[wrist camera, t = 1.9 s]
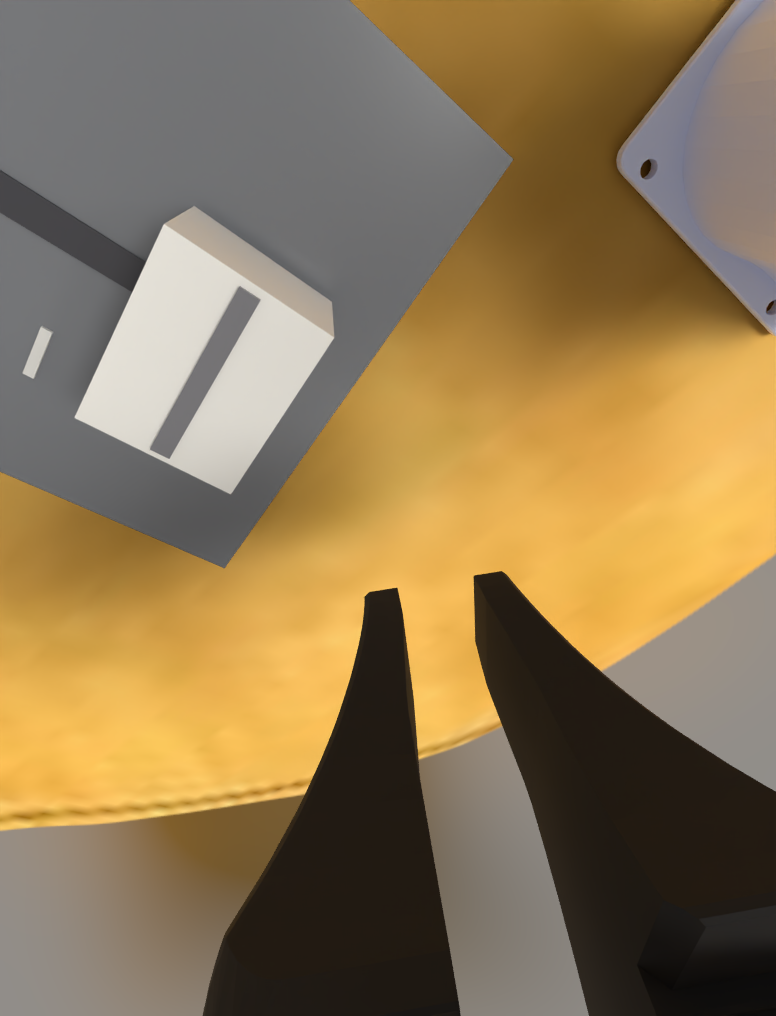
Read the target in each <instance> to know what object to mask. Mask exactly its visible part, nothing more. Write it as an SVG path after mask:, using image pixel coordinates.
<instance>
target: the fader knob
mask: <svg viewBox="0 0 776 1016" xmlns="http://www.w3.org/2000/svg"><path fill="white" fill-rule="evenodd" d="M333 339H334V325H333V310H332V302H331V301H330V300H329V299H327V298H326V297H324V296H323V295H321V294H320V293H319V292H317V291H316V290H314V289H313V288H311V287H310V286H308V285H307V284H306V283H304V282H303V281H301V280H300V279H298V278H297V277H296V276H294V275H293V274H291V273H290V272H288V271H287V270H286V269H284V268H283V267H281V266H280V265H278V264H277V263H275V262H274V261H273V260H271V259H270V258H268V257H267V256H265V255H264V254H263V253H261V252H260V251H258V250H257V249H255V248H254V247H253V246H251V245H250V244H248V243H247V242H245V241H244V240H242V239H241V238H240V237H238V236H237V235H235V234H234V233H232V232H231V231H230V230H228V229H227V228H225V227H224V226H222V225H221V224H219V223H218V222H217V221H215V220H214V219H212V218H211V217H209V216H208V215H207V214H205V213H204V212H202V211H201V210H199V209H198V208H197V207H195V206H193V207H192V208H190V209H188V210H187V211H185V212H183V213H181V214H180V215H178V216H176V217H175V218H173V219H171V220H170V221H168V222H166V223H164V225H163V227H162V229H161V231H160V233H159V236H158V238H157V240H156V242H155V244H154V246H153V249H152V251H151V253H150V255H149V257H148V259H147V262H146V264H145V266H144V268H143V270H142V272H141V275H140V277H139V279H138V281H137V283H136V285H135V288H134V290H133V292H132V294H131V296H130V298H129V301H128V303H127V305H126V307H125V309H124V311H123V314H122V316H121V318H120V320H119V322H118V324H117V327H116V329H115V331H114V333H113V335H112V337H111V340H110V342H109V344H108V346H107V348H106V350H105V353H104V355H103V357H102V359H101V361H100V363H99V366H98V368H97V370H96V372H95V374H94V376H93V379H92V381H91V383H90V385H89V387H88V389H87V392H86V394H85V396H84V398H83V400H82V402H81V405H80V407H79V409H78V411H77V413H76V415H75V418H76V419H78V420H80V421H82V422H84V423H86V424H88V425H90V426H92V427H94V428H96V429H98V430H100V431H102V432H104V433H106V434H108V435H110V436H113V437H115V438H117V439H119V440H121V441H123V442H125V443H127V444H129V445H131V446H133V447H135V448H137V449H139V450H141V451H143V452H145V453H147V454H149V455H151V456H153V457H155V458H157V459H159V460H161V461H163V462H166V463H168V464H170V465H172V466H174V467H176V468H178V469H180V470H182V471H184V472H186V473H188V474H190V475H192V476H194V477H196V478H198V479H200V480H202V481H204V482H206V483H208V484H210V485H212V486H214V487H216V488H219V489H221V490H223V491H225V492H227V493H229V494H231V493H232V492H233V490H234V489H235V487H236V486H237V484H238V483H239V481H240V480H241V478H242V477H243V475H244V474H245V472H246V471H247V469H248V468H249V466H250V465H251V463H252V462H253V460H254V459H255V457H256V456H257V454H258V453H259V451H260V450H261V448H262V446H263V445H264V443H265V442H266V440H267V439H268V437H269V436H270V434H271V433H272V431H273V430H274V428H275V427H276V425H277V424H278V422H279V421H280V419H281V418H282V416H283V415H284V413H285V412H286V410H287V409H288V407H289V406H290V404H291V403H292V401H293V399H294V398H295V396H296V395H297V393H298V392H299V390H300V389H301V387H302V386H303V384H304V383H305V381H306V380H307V378H308V377H309V375H310V374H311V372H312V371H313V369H314V368H315V366H316V365H317V363H318V362H319V360H320V359H321V357H322V356H323V354H324V353H325V351H326V349H327V348H328V346H329V345H330V343H331V342H332V340H333Z"/></svg>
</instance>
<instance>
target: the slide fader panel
mask: <svg viewBox="0 0 776 1016" xmlns="http://www.w3.org/2000/svg"><path fill="white" fill-rule="evenodd" d="M512 161H513V158H512V157H511V156H510V155H509V154H508V153H507V152H506V151H504V150H503V149H502V148H501V147H500V146H499V145H498V144H497V143H496V142H495V141H494V140H493V139H492V138H491V137H490V136H489V135H488V134H487V133H486V132H485V131H484V130H483V129H482V128H481V127H480V126H479V125H478V124H477V123H476V122H475V121H473V120H472V119H471V118H470V117H469V116H468V115H467V114H466V113H465V112H464V111H463V110H462V109H461V108H460V107H459V106H458V105H457V104H456V103H455V102H454V101H453V100H452V99H451V98H450V97H449V96H448V95H447V94H446V93H445V92H444V91H443V90H441V89H440V88H439V87H438V86H437V85H436V84H435V83H434V82H433V81H432V80H431V79H430V78H429V77H428V76H427V75H426V74H425V73H424V72H423V71H422V70H421V69H420V68H419V67H418V66H417V65H416V64H415V63H414V62H413V61H412V60H410V59H409V58H408V57H407V56H406V55H405V54H404V53H403V52H402V51H401V50H400V49H399V48H398V47H397V46H396V45H395V44H394V43H393V42H392V41H391V40H390V39H389V38H388V37H387V36H386V35H385V34H384V33H383V32H382V31H381V30H379V29H378V28H377V27H376V26H375V25H374V24H373V23H372V22H371V21H370V20H369V19H368V18H367V17H366V16H365V15H364V14H363V13H362V12H361V11H360V10H359V9H358V8H357V7H356V6H355V5H354V4H353V3H352V2H351V1H350V0H0V472H2V473H5V474H7V475H9V476H12V477H14V478H16V479H19V480H21V481H23V482H25V483H28V484H30V485H32V486H35V487H37V488H39V489H42V490H44V491H46V492H49V493H51V494H53V495H56V496H58V497H60V498H63V499H65V500H67V501H70V502H72V503H74V504H77V505H79V506H81V507H84V508H86V509H88V510H90V511H93V512H95V513H97V514H100V515H102V516H104V517H107V518H109V519H111V520H114V521H116V522H118V523H121V524H123V525H125V526H128V527H130V528H132V529H135V530H137V531H139V532H142V533H144V534H146V535H149V536H151V537H153V538H155V539H158V540H160V541H162V542H165V543H167V544H169V545H172V546H174V547H176V548H179V549H181V550H183V551H186V552H188V553H190V554H193V555H195V556H197V557H200V558H202V559H204V560H207V561H209V562H211V563H214V564H216V565H218V566H221V567H223V568H225V567H226V565H227V564H228V563H229V561H230V560H231V558H232V557H233V555H234V554H235V553H236V551H237V550H238V548H239V547H240V546H241V544H242V543H243V541H244V540H245V539H246V537H247V536H248V534H249V533H250V531H251V530H252V529H253V527H254V526H255V524H256V523H257V522H258V520H259V519H260V517H261V516H262V514H263V513H264V512H265V510H266V509H267V507H268V506H269V505H270V503H271V502H272V500H273V499H274V497H275V496H276V495H277V493H278V492H279V490H280V489H281V488H282V486H283V485H284V483H285V482H286V481H287V479H288V478H289V476H290V475H291V473H292V472H293V471H294V469H295V468H296V466H297V465H298V464H299V462H300V461H301V459H302V458H303V456H304V455H305V454H306V452H307V451H308V449H309V448H310V447H311V445H312V444H313V442H314V441H315V440H316V438H317V437H318V435H319V434H320V432H321V431H322V430H323V428H324V427H325V425H326V424H327V423H328V421H329V420H330V418H331V417H332V415H333V414H334V413H335V411H336V410H337V408H338V407H339V406H340V404H341V403H342V401H343V400H344V398H345V397H346V396H347V394H348V393H349V391H350V390H351V389H352V387H353V386H354V384H355V383H356V382H357V380H358V379H359V377H360V376H361V374H362V373H363V372H364V370H365V369H366V367H367V366H368V365H369V363H370V362H371V360H372V359H373V357H374V356H375V355H376V353H377V352H378V350H379V349H380V348H381V346H382V345H383V343H384V342H385V340H386V339H387V338H388V336H389V335H390V333H391V332H392V331H393V329H394V328H395V326H396V325H397V324H398V322H399V321H400V319H401V318H402V316H403V315H404V314H405V312H406V311H407V309H408V308H409V307H410V305H411V304H412V302H413V301H414V299H415V298H416V297H417V295H418V294H419V292H420V291H421V290H422V288H423V287H424V285H425V284H426V283H427V281H428V280H429V278H430V277H431V275H432V274H433V273H434V271H435V270H436V268H437V267H438V266H439V264H440V263H441V261H442V260H443V258H444V257H445V256H446V254H447V253H448V251H449V250H450V249H451V247H452V246H453V244H454V243H455V241H456V240H457V239H458V237H459V236H460V234H461V233H462V232H463V230H464V229H465V227H466V226H467V225H468V223H469V222H470V220H471V219H472V217H473V216H474V215H475V213H476V212H477V210H478V209H479V208H480V206H481V205H482V203H483V202H484V200H485V199H486V198H487V196H488V195H489V193H490V192H491V191H492V189H493V188H494V186H495V185H496V184H497V182H498V181H499V179H500V178H501V176H502V175H503V174H504V172H505V171H506V169H507V168H508V167H509V165H510V164H511V162H512ZM193 206H195V207H197V208H198V209H199V210H201V211H202V212H204V213H205V214H207V215H208V216H209V217H211V218H212V219H214V220H215V221H217V222H218V223H219V224H221V225H222V226H224V227H225V228H227V229H228V230H230V231H231V232H232V233H234V234H235V235H237V236H238V237H240V238H241V239H242V240H244V241H245V242H247V243H248V244H250V245H251V246H253V247H254V248H255V249H257V250H258V251H260V252H261V253H263V254H264V255H265V256H267V257H268V258H270V259H271V260H273V261H274V262H275V263H277V264H278V265H280V266H281V267H283V268H284V269H286V270H287V271H288V272H290V273H291V274H293V275H294V276H296V277H297V278H298V279H300V280H301V281H303V282H304V283H306V284H307V285H308V286H310V287H311V288H313V289H314V290H316V291H317V292H319V293H320V294H321V295H323V296H324V297H326V298H327V299H329V300H330V301H331V302H332V310H333V325H334V339H333V340H332V342H331V343H330V345H329V346H328V348H327V349H326V351H325V353H324V354H323V356H322V357H321V359H320V360H319V362H318V363H317V365H316V366H315V368H314V369H313V371H312V372H311V374H310V375H309V377H308V378H307V380H306V381H305V383H304V384H303V386H302V387H301V389H300V390H299V392H298V393H297V395H296V396H295V398H294V399H293V401H292V403H291V404H290V406H289V407H288V409H287V410H286V412H285V413H284V415H283V416H282V418H281V419H280V421H279V422H278V424H277V425H276V427H275V428H274V430H273V431H272V433H271V434H270V436H269V437H268V439H267V440H266V442H265V443H264V445H263V446H262V448H261V450H260V451H259V453H258V454H257V456H256V457H255V459H254V460H253V462H252V463H251V465H250V466H249V468H248V469H247V471H246V472H245V474H244V475H243V477H242V478H241V480H240V481H239V483H238V484H237V486H236V487H235V489H234V490H233V492H232V493H231V494H229V493H227V492H225V491H223V490H221V489H219V488H216V487H214V486H212V485H210V484H208V483H206V482H204V481H202V480H200V479H198V478H196V477H194V476H192V475H190V474H188V473H186V472H184V471H182V470H180V469H178V468H176V467H174V466H172V465H170V464H168V463H166V462H163V461H161V460H159V459H157V458H155V457H153V456H151V455H149V454H147V453H145V452H143V451H141V450H139V449H137V448H135V447H133V446H131V445H129V444H127V443H125V442H123V441H121V440H119V439H117V438H115V437H113V436H110V435H108V434H106V433H104V432H102V431H100V430H98V429H96V428H94V427H92V426H90V425H88V424H86V423H84V422H82V421H80V420H78V419H76V418H75V415H76V413H77V411H78V409H79V407H80V405H81V402H82V400H83V398H84V396H85V394H86V392H87V389H88V387H89V385H90V383H91V381H92V379H93V376H94V374H95V372H96V370H97V368H98V366H99V363H100V361H101V359H102V357H103V355H104V353H105V350H106V348H107V346H108V344H109V342H110V340H111V337H112V335H113V333H114V331H115V329H116V327H117V324H118V322H119V320H120V318H121V316H122V314H123V311H124V309H125V307H126V305H127V303H128V301H129V298H130V296H131V294H132V292H133V290H134V288H135V285H136V283H137V281H138V279H139V277H140V275H141V272H142V270H143V268H144V266H145V264H146V262H147V259H148V257H149V255H150V253H151V251H152V249H153V246H154V244H155V242H156V240H157V238H158V236H159V233H160V231H161V229H162V227H163V225H164V223H166V222H168V221H170V220H171V219H173V218H175V217H176V216H178V215H180V214H181V213H183V212H185V211H187V210H188V209H190V208H192V207H193Z"/></svg>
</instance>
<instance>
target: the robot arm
mask: <svg viewBox="0 0 776 1016" xmlns="http://www.w3.org/2000/svg"><path fill="white" fill-rule="evenodd" d="M648 159H649V160H650V162H651V170H650V172H649V174H648V175H647V176H646V177H644V178H642V177H641V175H640V169H641V166H642V164H643V163H644V162H645V161H646V160H648ZM616 162H617V168H618V170H619V172H620V173H621V174H622V175H623V177H624V178H625V179H626V180H627V181H628V182H629V183H630V184H631V185H632V186H633V187H634V188H635V189H636V190H637V191H638V193H639V194H640V195H641V196H642V197H643V198H644V199H645V200H646V201H647V202H648V203H649V204H650V205H651V206H652V208H653V209H654V210H655V211H656V212H657V213H658V214H659V215H660V216H661V217H662V218H663V219H664V220H665V221H666V222H667V224H668V225H669V226H670V227H671V228H672V229H673V230H674V231H675V232H676V233H677V234H678V235H679V236H680V237H681V239H682V240H683V241H684V242H685V243H686V244H687V245H688V246H689V247H690V248H691V249H692V250H693V251H694V252H695V253H696V255H697V256H698V257H699V258H700V259H701V260H702V261H703V262H704V263H705V264H706V265H707V266H708V267H709V268H710V270H711V271H712V272H713V273H714V274H715V275H716V276H717V277H718V278H719V279H720V280H721V281H722V282H723V283H724V284H725V286H726V287H727V288H728V289H729V290H730V291H731V292H732V293H733V294H734V295H735V296H736V297H737V298H738V299H739V301H740V302H741V303H742V304H743V305H744V306H745V307H746V308H747V309H748V310H749V311H750V312H751V313H752V314H753V315H754V317H755V318H756V319H757V320H758V321H759V322H760V323H761V324H762V325H763V326H764V327H765V328H766V329H767V330H768V332H769V333H771V334H773V335H775V336H776V0H735V2H734V3H733V4H732V5H731V7H730V8H729V9H728V11H727V12H726V13H725V14H724V16H723V17H722V18H721V20H720V21H719V22H718V23H717V25H716V26H715V27H714V28H713V30H712V31H711V32H710V34H709V35H708V36H707V37H706V39H705V40H704V41H703V43H702V44H701V45H700V46H699V48H698V49H697V50H696V52H695V53H694V54H693V55H692V57H691V58H690V59H689V60H688V62H687V63H686V64H685V66H684V67H683V68H682V69H681V71H680V72H679V73H678V75H677V76H676V77H675V78H674V80H673V81H672V82H671V83H670V85H669V86H668V87H667V89H666V90H665V91H664V92H663V94H662V95H661V96H660V98H659V99H658V100H657V101H656V103H655V104H654V105H653V107H652V108H651V109H650V110H649V112H648V113H647V114H646V115H645V117H644V118H643V119H642V121H641V122H640V123H639V124H638V126H637V127H636V128H635V130H634V131H633V132H632V133H631V135H630V136H629V137H628V138H627V140H626V141H625V142H624V144H623V145H622V146H621V148H620V150H619V152H618V155H617V159H616ZM773 300H774V303H773V306H772V307H771V309H770V310H768V311H767V312H766V308H767V306H768V305H769V303H770V302H772V301H773ZM474 606H475V642H476V646H477V649H478V653H479V657H480V661H481V665H482V669H483V672H484V676H485V680H486V683H487V687H488V689H489V692H490V694H491V697H492V700H493V702H494V705H495V708H496V710H497V713H498V715H499V718H500V721H501V723H502V726H503V728H504V731H505V733H506V736H507V739H508V741H509V744H510V746H511V749H512V751H513V754H514V757H515V759H516V762H517V764H518V767H519V770H520V772H521V775H522V777H523V780H524V782H525V785H526V788H527V791H528V794H529V797H530V800H531V803H532V806H533V809H534V813H535V817H536V820H537V823H538V827H539V830H540V834H541V837H542V841H543V844H544V848H545V851H546V854H547V858H548V862H549V866H550V869H551V873H552V876H553V880H554V884H555V887H556V891H557V895H558V898H559V902H560V905H561V909H562V913H563V916H564V921H565V924H566V928H567V932H568V936H569V939H570V943H571V947H572V950H573V955H574V958H575V962H576V966H577V970H578V973H579V978H580V982H581V986H582V990H583V993H584V997H585V1002H586V1005H587V1009H588V1013H589V1016H776V791H774V790H772V789H770V788H768V787H766V786H765V785H763V784H761V783H760V782H758V781H756V780H755V779H753V778H751V777H750V776H748V775H746V774H744V773H743V772H741V771H739V770H738V769H736V768H734V767H732V766H731V765H729V764H728V763H726V762H725V761H723V760H722V759H720V758H719V757H717V756H715V755H714V754H712V753H711V752H709V751H707V750H706V749H705V748H703V747H702V746H700V745H699V744H697V743H695V742H694V741H692V740H691V739H689V738H688V737H686V736H685V735H683V734H682V733H680V732H679V731H677V730H676V729H674V728H673V727H671V726H670V725H669V724H667V723H666V722H665V721H663V720H662V719H660V718H659V717H658V716H656V715H655V714H653V713H652V712H651V711H649V710H648V709H647V708H645V707H644V706H643V705H642V704H640V703H639V702H638V701H636V700H635V699H634V698H632V697H631V696H630V695H629V694H627V693H626V692H625V691H624V690H622V689H621V688H620V687H619V686H617V685H616V684H615V683H614V682H613V681H611V680H610V679H609V678H608V677H606V675H604V674H603V673H602V672H601V671H600V670H599V669H598V668H596V667H595V666H594V665H593V664H592V663H591V662H590V661H589V660H587V659H586V658H585V657H584V656H583V655H582V654H581V653H580V652H579V651H578V650H577V649H575V648H574V647H573V646H572V645H571V644H570V643H569V642H568V641H567V640H566V639H565V638H564V637H563V636H562V635H561V634H560V633H559V632H558V631H557V630H556V629H555V628H554V627H553V626H552V625H551V624H550V623H549V622H548V621H547V620H546V619H545V618H544V617H543V616H542V615H541V614H540V612H539V611H538V610H537V609H536V608H535V607H534V606H533V605H532V604H531V603H530V602H529V600H528V599H527V598H526V597H525V596H524V595H523V594H522V592H521V591H520V590H519V589H518V588H517V587H516V585H515V584H514V583H513V582H512V581H511V580H510V578H509V577H508V576H507V575H506V574H505V573H503V572H502V571H500V572H494V573H488V574H481V575H475V576H474ZM203 1016H460V1008H459V1001H458V995H457V989H456V984H455V978H454V972H453V966H452V960H451V954H450V948H449V943H448V937H447V931H446V926H445V920H444V914H443V908H442V903H441V898H440V892H439V886H438V880H437V874H436V869H435V864H434V857H433V852H432V846H431V840H430V835H429V829H428V823H427V818H426V811H425V805H424V800H423V794H422V789H421V783H420V774H419V762H418V749H417V736H416V723H415V710H414V698H413V690H412V682H411V674H410V667H409V659H408V651H407V643H406V636H405V628H404V620H403V613H402V608H401V603H400V598H399V593H398V589H397V588H392V589H386V590H380V591H373V592H369V593H368V594H367V595H366V596H365V607H364V618H363V625H362V631H361V636H360V641H359V646H358V650H357V654H356V658H355V662H354V666H353V670H352V674H351V678H350V681H349V684H348V687H347V690H346V694H345V697H344V700H343V703H342V706H341V709H340V712H339V715H338V718H337V721H336V723H335V726H334V729H333V731H332V734H331V737H330V739H329V742H328V744H327V746H326V749H325V751H324V754H323V756H322V759H321V761H320V763H319V765H318V768H317V770H316V772H315V774H314V776H313V778H312V781H311V783H310V785H309V787H308V789H307V792H306V794H305V796H304V798H303V800H302V802H301V804H300V806H299V808H298V810H297V812H296V814H295V816H294V817H293V819H292V821H291V823H290V825H289V827H288V829H287V830H286V833H285V834H284V836H283V838H282V839H281V841H280V843H279V845H278V847H277V849H276V851H275V852H274V854H273V856H272V858H271V860H270V861H269V863H268V865H267V866H266V868H265V870H264V872H263V873H262V875H261V877H260V879H259V880H258V881H257V883H256V885H255V886H254V888H253V890H252V891H251V893H250V894H249V896H248V897H247V899H246V901H245V902H244V904H243V906H242V907H241V909H240V910H239V912H238V913H237V915H236V917H235V918H234V920H233V922H232V923H231V925H230V926H229V928H228V930H227V931H226V933H225V935H224V938H223V941H222V944H221V947H220V950H219V953H218V957H217V960H216V963H215V966H214V970H213V974H212V977H211V981H210V984H209V989H208V993H207V999H206V1003H205V1007H204V1012H203Z"/></svg>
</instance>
